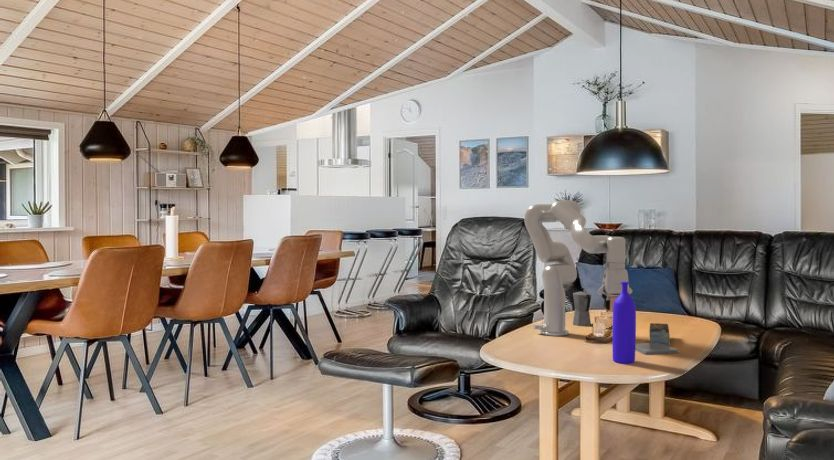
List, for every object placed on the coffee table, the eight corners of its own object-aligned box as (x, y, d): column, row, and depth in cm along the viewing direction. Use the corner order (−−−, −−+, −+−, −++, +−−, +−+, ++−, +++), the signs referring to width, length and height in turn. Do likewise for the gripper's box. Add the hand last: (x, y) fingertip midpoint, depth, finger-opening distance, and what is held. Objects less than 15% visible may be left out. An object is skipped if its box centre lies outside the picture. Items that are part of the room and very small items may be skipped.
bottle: (608, 359, 254) (609, 280, 253) (629, 358, 255) (631, 280, 254) (617, 364, 246) (618, 283, 245) (638, 363, 247) (640, 283, 246)
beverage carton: (649, 345, 281) (649, 329, 280) (649, 336, 299) (649, 321, 298) (669, 346, 278) (669, 330, 278) (668, 337, 296) (668, 322, 296)
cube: (611, 312, 275) (611, 297, 275) (604, 309, 281) (604, 295, 281) (624, 311, 276) (625, 297, 276) (617, 309, 282) (618, 295, 282)
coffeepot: (567, 322, 332) (567, 286, 332) (585, 321, 334) (585, 285, 333) (579, 328, 317) (580, 290, 316) (598, 327, 319) (599, 289, 318)
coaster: (645, 354, 262) (645, 351, 262) (627, 346, 276) (627, 343, 276) (677, 352, 265) (677, 349, 265) (658, 345, 278) (658, 342, 278)
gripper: (600, 267, 272) (599, 311, 273) (639, 267, 275) (638, 310, 276) (592, 265, 280) (591, 308, 281) (630, 265, 283) (629, 307, 284)
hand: (614, 308), depth 278 cm, fingers closed on cube, 6 cm apart
